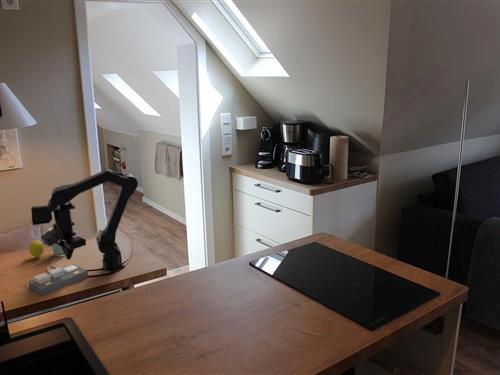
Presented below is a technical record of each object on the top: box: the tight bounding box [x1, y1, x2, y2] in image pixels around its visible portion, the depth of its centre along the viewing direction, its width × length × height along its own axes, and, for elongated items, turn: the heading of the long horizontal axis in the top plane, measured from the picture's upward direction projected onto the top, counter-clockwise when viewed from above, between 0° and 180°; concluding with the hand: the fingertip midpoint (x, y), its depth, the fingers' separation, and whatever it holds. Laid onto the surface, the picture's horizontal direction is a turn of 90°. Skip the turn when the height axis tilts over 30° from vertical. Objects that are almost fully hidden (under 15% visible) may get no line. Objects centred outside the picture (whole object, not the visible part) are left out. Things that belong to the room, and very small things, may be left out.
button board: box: [28, 263, 89, 296], centre depth 164 cm, size 18×10×3 cm, turn 140°
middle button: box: [48, 267, 65, 279], centre depth 164 cm, size 4×4×2 cm
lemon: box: [28, 239, 45, 258], centre depth 186 cm, size 6×6×8 cm
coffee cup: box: [47, 226, 65, 257], centre depth 188 cm, size 8×8×12 cm
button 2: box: [62, 264, 78, 274], centre depth 169 cm, size 4×4×2 cm
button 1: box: [33, 272, 51, 284], centre depth 160 cm, size 4×4×2 cm
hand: (68, 259), depth 167 cm, fingers closed
